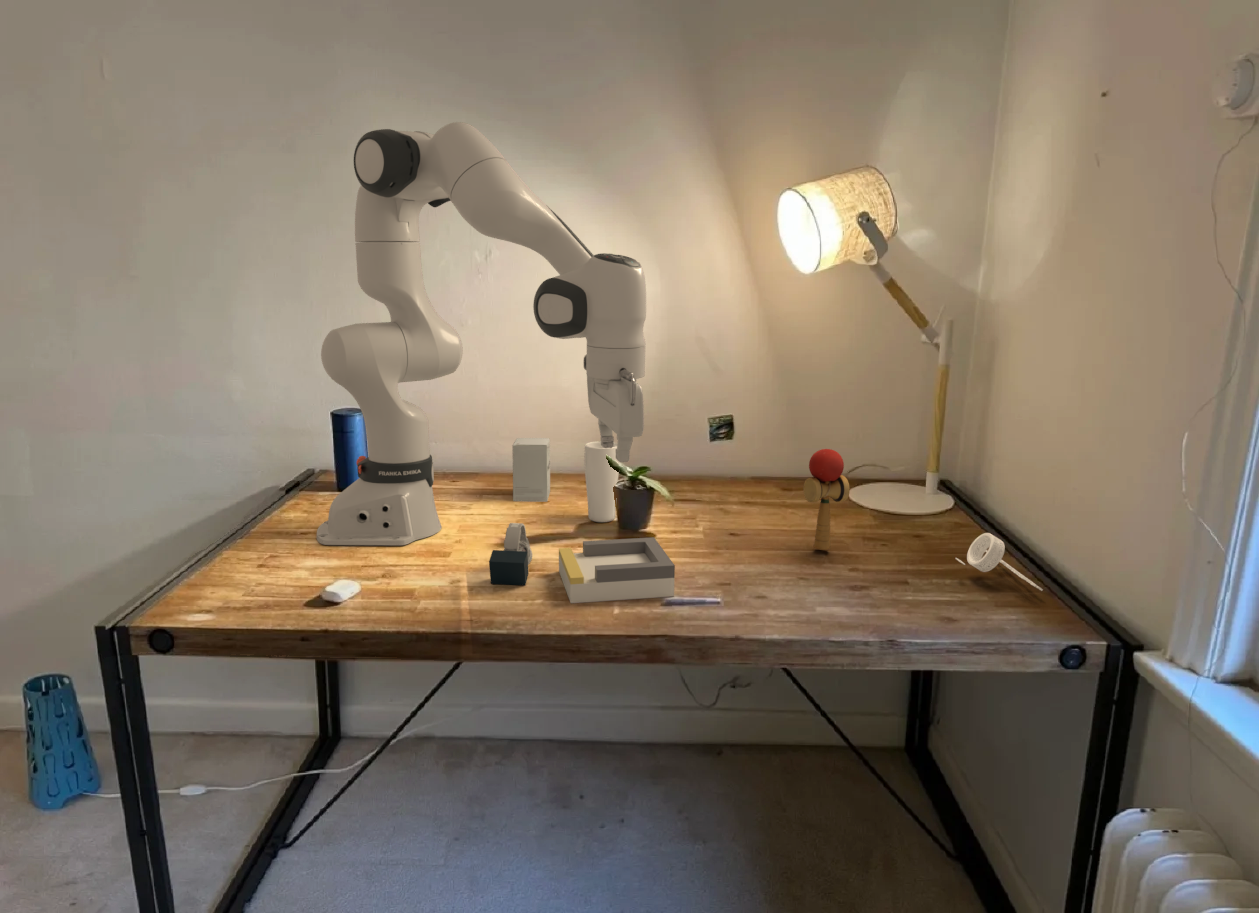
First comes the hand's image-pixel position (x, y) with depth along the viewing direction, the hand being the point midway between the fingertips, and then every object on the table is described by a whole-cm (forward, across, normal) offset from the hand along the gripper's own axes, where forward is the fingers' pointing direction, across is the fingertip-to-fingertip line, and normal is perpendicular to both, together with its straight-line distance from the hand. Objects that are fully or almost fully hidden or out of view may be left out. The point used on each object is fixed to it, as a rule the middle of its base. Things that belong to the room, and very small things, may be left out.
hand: (614, 454), depth 141 cm
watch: (+19, +2, +16) cm, 25 cm away
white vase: (+22, +34, -6) cm, 41 cm away
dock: (+21, 0, 0) cm, 21 cm away
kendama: (+21, +8, -41) cm, 47 cm away
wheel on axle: (+21, -11, -60) cm, 65 cm away
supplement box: (+22, +52, +4) cm, 57 cm away
